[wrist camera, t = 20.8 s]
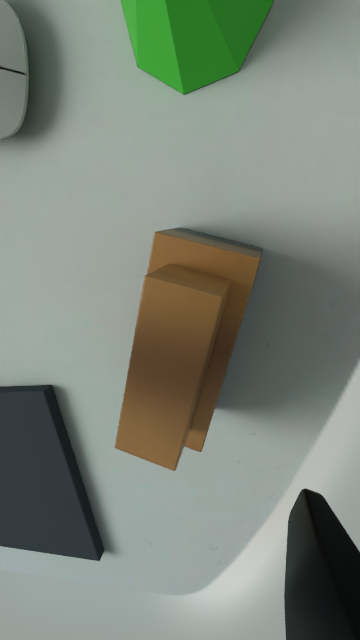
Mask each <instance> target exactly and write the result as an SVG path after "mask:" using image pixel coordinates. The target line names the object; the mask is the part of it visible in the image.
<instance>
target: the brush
mask: <svg viewBox="0 0 360 640" xmlns="http://www.w3.org/2000/svg"><path fill="white" fill-rule="evenodd" d="M261 254H262V248H260V247H256V246H252V245H248V244H244V243H240V242H236V241H232V240H228V239H224V238H220V237H216V236H212V235H208V234H204V233H200V232H196V231H192V230H188V229H184V228H174V229H168V230H163V231H157V232H155V233H154V239H153V244H152V250H151V255H150V261H149V267H148V272H147V275H145V278H144V284H143V289H142V295H141V301H140V307H139V312H138V318H137V324H136V329H135V335H134V341H133V347H132V352H131V358H130V364H129V369H128V375H127V381H126V387H125V392H124V398H123V404H122V409H121V415H120V421H119V427H118V432H117V438H116V444H115V448H116V449H119V450H121V451H124V452H127V453H129V454H132V455H134V456H137V457H139V458H142V459H145V460H147V461H150V462H152V463H155V464H158V465H160V466H163V467H165V468H168V469H171V470H173V471H175V470H176V468H177V465H178V462H179V459H180V457H181V454H182V451H183V448H184V446H185V447H188V448H190V449H193V450H196V451H199V452H201V451H202V448H203V445H204V442H205V439H206V435H207V432H208V429H209V426H210V422H211V419H212V416H213V413H214V409H215V406H216V403H217V400H218V396H219V393H220V390H221V387H222V383H223V380H224V377H225V374H226V370H227V367H228V364H229V361H230V357H231V354H232V351H233V348H234V344H235V341H236V338H237V335H238V331H239V328H240V325H241V322H242V318H243V315H244V312H245V309H246V305H247V302H248V299H249V296H250V292H251V289H252V286H253V283H254V279H255V276H256V273H257V270H258V266H259V263H260V260H261Z"/></svg>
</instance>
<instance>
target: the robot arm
mask: <svg viewBox="0 0 360 640" xmlns="http://www.w3.org/2000/svg"><path fill="white" fill-rule="evenodd" d="M284 597H285V625H286V640H360V552H359V550H358V549H357V547H356V546H355V544H354V543H353V541H352V540H351V538H350V537H349V535H348V534H347V532H346V531H345V529H344V528H343V526H342V525H341V523H340V521H339V520H338V518H337V517H336V515H335V514H334V512H333V511H332V509H331V508H330V506H329V505H328V503H327V502H326V500H325V499H324V497H323V496H322V495H321V494H319V493H316V492H314V491H311V490H308V489H303V490H302V491H301V492H300V494H299V496H298V498H297V500H296V502H295V504H294V506H293V508H292V510H291V512H290V516H289V521H288V537H287V555H286V573H285V595H284Z"/></svg>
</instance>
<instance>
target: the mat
mask: <svg viewBox="0 0 360 640" xmlns="http://www.w3.org/2000/svg"><path fill="white" fill-rule="evenodd" d="M0 546H4V547H10V548H17V549H24V550H30V551H37V552H43V553H50V554H57V555H63V556H70V557H76V558H83V559H90V560H96V561H99V560H100V559H101V557H102V555H103V553H104V549H103V545H102V542H101V539H100V536H99V533H98V530H97V527H96V524H95V520H94V517H93V514H92V511H91V508H90V505H89V502H88V499H87V495H86V492H85V489H84V486H83V483H82V480H81V477H80V474H79V470H78V467H77V464H76V461H75V458H74V455H73V452H72V449H71V446H70V442H69V439H68V436H67V433H66V430H65V427H64V424H63V421H62V417H61V414H60V411H59V408H58V405H57V402H56V399H55V396H54V392H53V389H52V386H51V385H42V386H14V387H0Z"/></svg>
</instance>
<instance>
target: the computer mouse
mask: <svg viewBox="0 0 360 640" xmlns="http://www.w3.org/2000/svg"><path fill="white" fill-rule="evenodd" d="M28 92H29V68H28V54H27V46H26V40H25V35H24V31H23V28H22V25H21V22H20V20H19V18H18V16H17V14H16V13H15V11H14V10H13V9H12V7H11V6H10V5H9V4H8V3H7V2H6V1H5V0H0V139H5V138H8V137H10V136H12V135H14V134H15V133H16V132H17V131H18V130H19V129H20V127H21V125H22V123H23V121H24V118H25V114H26V110H27V103H28Z"/></svg>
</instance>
